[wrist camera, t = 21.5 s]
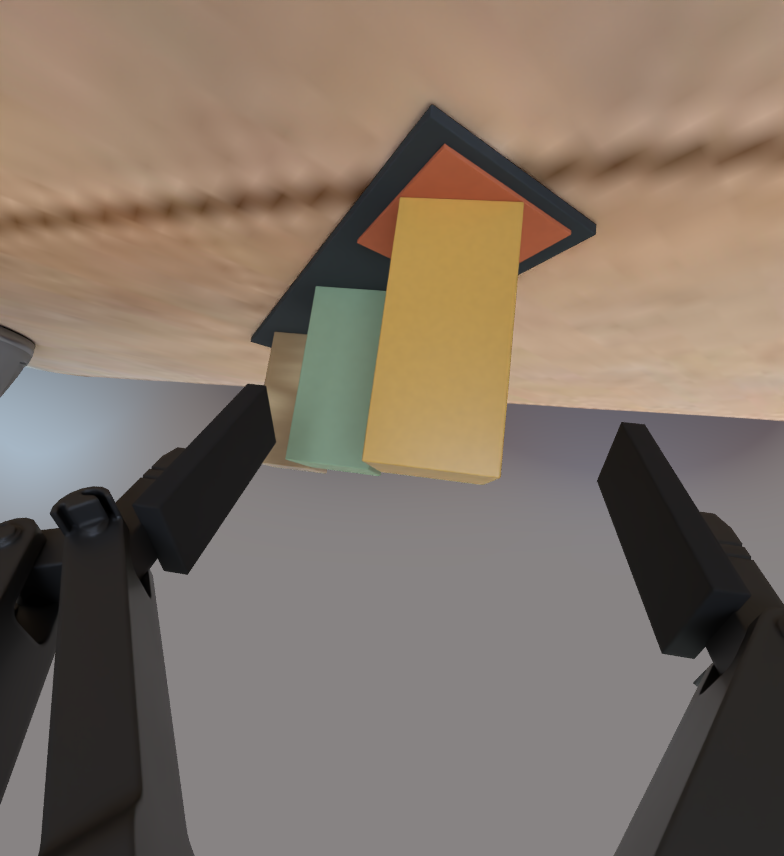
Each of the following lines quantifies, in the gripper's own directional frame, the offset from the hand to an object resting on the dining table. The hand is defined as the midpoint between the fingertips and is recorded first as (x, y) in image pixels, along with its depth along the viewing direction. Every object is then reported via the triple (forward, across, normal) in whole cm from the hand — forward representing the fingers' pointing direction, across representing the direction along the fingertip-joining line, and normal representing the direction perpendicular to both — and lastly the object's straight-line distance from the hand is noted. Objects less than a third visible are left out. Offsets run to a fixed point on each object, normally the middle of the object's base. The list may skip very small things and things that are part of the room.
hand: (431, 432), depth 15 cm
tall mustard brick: (+8, 0, +6) cm, 10 cm away
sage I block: (+14, -6, 0) cm, 15 cm away
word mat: (+14, -6, 0) cm, 15 cm away
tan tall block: (+20, -12, -6) cm, 24 cm away
